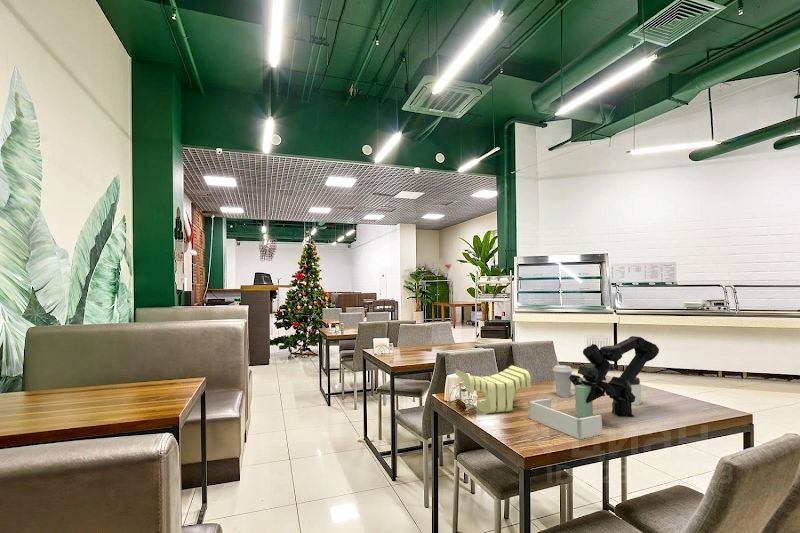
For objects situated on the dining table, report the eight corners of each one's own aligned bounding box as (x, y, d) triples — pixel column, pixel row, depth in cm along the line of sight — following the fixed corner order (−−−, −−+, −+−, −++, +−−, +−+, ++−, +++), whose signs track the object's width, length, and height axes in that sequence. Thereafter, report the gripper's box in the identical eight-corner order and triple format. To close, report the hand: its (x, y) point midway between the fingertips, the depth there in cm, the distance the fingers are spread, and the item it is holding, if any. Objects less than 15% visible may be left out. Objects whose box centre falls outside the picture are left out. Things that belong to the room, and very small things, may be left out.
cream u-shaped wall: (549, 414, 166) (549, 398, 167) (602, 434, 142) (601, 415, 143) (529, 418, 162) (528, 401, 162) (580, 439, 138) (579, 419, 138)
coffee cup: (564, 399, 190) (562, 368, 192) (549, 394, 199) (548, 365, 200) (577, 397, 194) (576, 367, 195) (563, 392, 203) (562, 364, 204)
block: (584, 414, 160) (582, 384, 161) (593, 417, 156) (591, 386, 157) (576, 416, 158) (574, 385, 159) (585, 419, 154) (583, 388, 155)
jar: (645, 404, 180) (644, 379, 181) (631, 406, 178) (630, 380, 179) (630, 399, 189) (629, 375, 190) (616, 400, 187) (615, 376, 188)
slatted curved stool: (470, 417, 164) (470, 375, 165) (456, 406, 179) (455, 368, 180) (531, 411, 171) (530, 371, 173) (512, 401, 187) (511, 365, 188)
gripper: (570, 355, 169) (553, 383, 163) (608, 362, 152) (590, 394, 146) (584, 372, 171) (567, 400, 166) (623, 380, 154) (605, 412, 149)
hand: (581, 401), depth 157 cm, fingers closed on block, 4 cm apart
